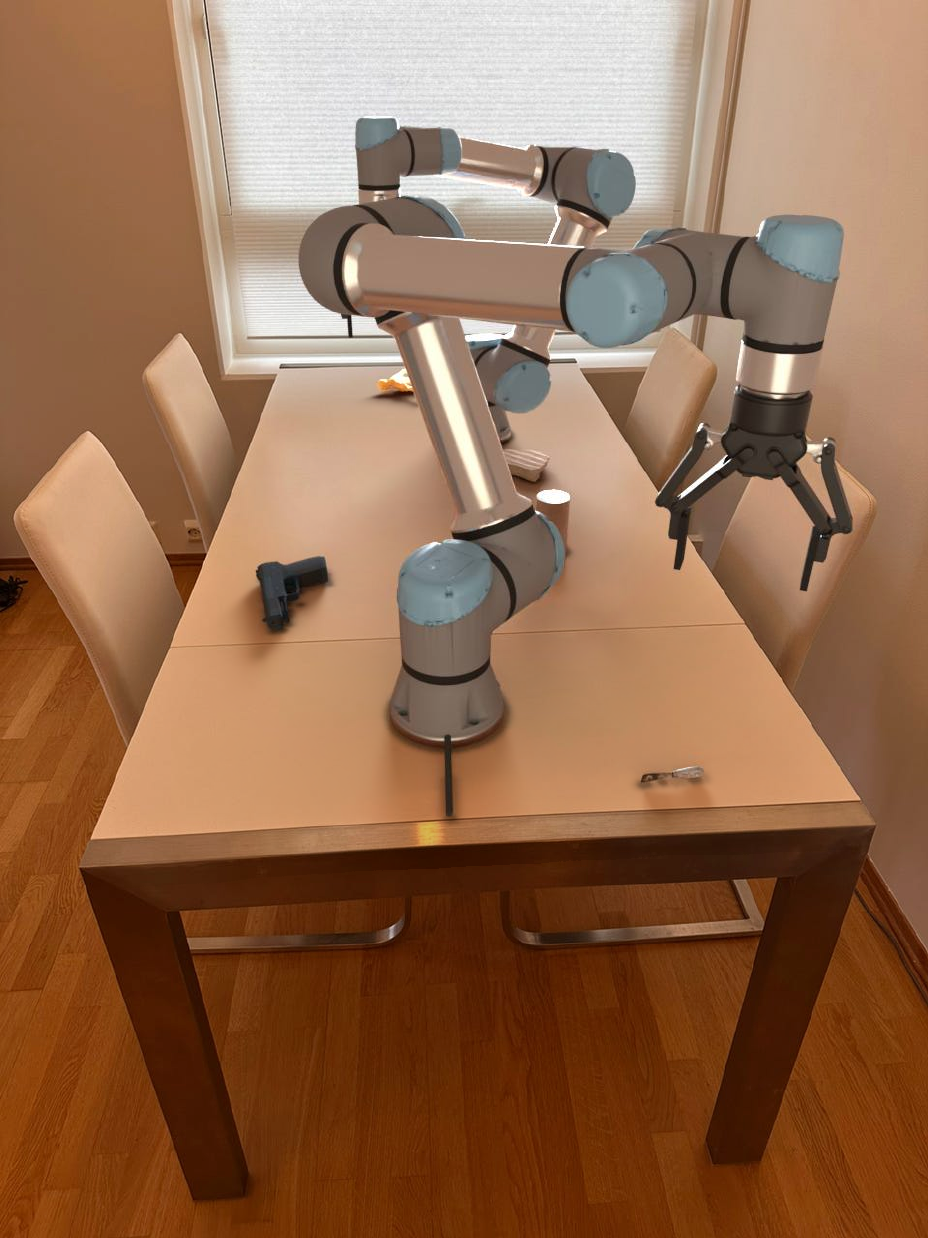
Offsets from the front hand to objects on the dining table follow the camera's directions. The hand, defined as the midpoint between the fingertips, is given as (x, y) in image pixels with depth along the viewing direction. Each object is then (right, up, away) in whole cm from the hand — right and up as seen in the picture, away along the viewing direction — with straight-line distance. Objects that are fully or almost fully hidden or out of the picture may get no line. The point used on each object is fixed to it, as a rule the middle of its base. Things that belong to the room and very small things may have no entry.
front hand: (739, 574), depth 100 cm
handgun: (-58, -2, +47) cm, 75 cm away
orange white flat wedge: (-42, +57, +141) cm, 158 cm away
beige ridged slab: (-19, +27, +93) cm, 98 cm away
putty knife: (-5, -25, +10) cm, 27 cm away
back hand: (-46, +50, +72) cm, 99 cm away
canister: (-15, +7, +61) cm, 63 cm away
